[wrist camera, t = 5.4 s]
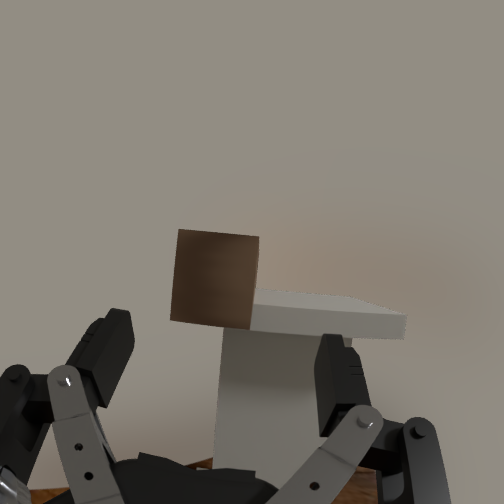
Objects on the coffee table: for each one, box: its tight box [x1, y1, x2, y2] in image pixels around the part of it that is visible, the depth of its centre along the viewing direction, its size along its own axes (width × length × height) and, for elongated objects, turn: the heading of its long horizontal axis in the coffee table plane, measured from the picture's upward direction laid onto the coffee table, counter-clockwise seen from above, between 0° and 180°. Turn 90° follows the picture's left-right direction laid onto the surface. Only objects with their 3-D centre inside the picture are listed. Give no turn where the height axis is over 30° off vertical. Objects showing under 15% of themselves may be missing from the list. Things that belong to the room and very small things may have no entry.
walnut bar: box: [170, 229, 259, 330], centre depth 26 cm, size 4×25×4 cm, turn 179°
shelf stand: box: [178, 288, 407, 490], centre depth 31 cm, size 18×17×30 cm
